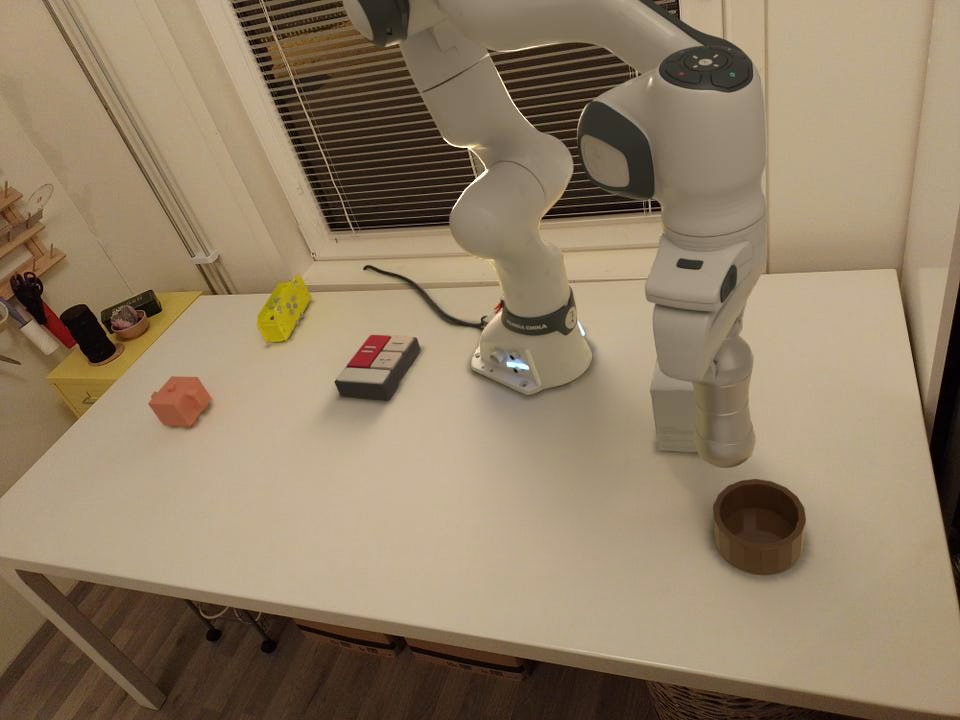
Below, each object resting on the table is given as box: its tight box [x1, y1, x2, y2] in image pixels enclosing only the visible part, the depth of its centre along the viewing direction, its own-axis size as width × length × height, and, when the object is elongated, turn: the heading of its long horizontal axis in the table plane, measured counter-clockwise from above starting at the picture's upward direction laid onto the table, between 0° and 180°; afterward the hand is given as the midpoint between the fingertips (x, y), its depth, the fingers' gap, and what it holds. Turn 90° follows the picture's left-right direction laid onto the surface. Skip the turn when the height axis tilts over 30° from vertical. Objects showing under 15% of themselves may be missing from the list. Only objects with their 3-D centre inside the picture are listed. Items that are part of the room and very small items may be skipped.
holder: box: [712, 478, 807, 576], centre depth 89 cm, size 11×11×6 cm
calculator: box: [334, 334, 422, 401], centre depth 136 cm, size 11×4×15 cm
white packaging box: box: [649, 358, 697, 453], centre depth 103 cm, size 7×7×13 cm
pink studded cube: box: [147, 375, 213, 428], centre depth 139 cm, size 8×12×8 cm, turn 72°
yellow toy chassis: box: [256, 275, 312, 344], centre depth 157 cm, size 16×6×8 cm, turn 169°
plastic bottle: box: [692, 317, 757, 469], centre depth 75 cm, size 6×7×20 cm
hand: (720, 355), depth 72 cm, fingers closed on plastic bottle, 6 cm apart
